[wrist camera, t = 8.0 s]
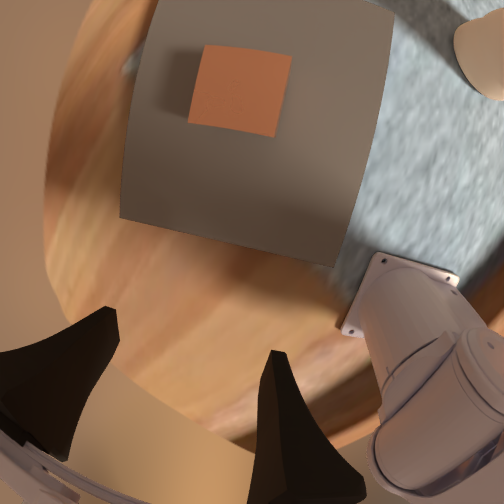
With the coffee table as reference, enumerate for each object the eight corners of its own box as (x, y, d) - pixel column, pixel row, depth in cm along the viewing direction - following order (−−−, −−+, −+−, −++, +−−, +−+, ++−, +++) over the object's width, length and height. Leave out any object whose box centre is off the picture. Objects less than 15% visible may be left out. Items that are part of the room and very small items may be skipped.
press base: (381, 25, 12) (394, 12, 10) (327, 250, 20) (333, 267, 17) (180, -7, 13) (167, -22, 10) (137, 207, 20) (119, 217, 18)
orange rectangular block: (289, 82, 15) (292, 56, 10) (276, 137, 17) (273, 137, 11) (229, 72, 15) (205, 44, 10) (218, 126, 17) (187, 122, 11)
